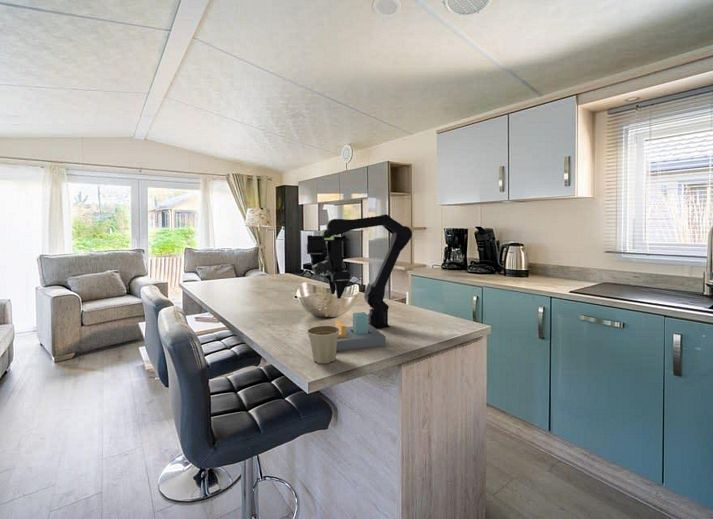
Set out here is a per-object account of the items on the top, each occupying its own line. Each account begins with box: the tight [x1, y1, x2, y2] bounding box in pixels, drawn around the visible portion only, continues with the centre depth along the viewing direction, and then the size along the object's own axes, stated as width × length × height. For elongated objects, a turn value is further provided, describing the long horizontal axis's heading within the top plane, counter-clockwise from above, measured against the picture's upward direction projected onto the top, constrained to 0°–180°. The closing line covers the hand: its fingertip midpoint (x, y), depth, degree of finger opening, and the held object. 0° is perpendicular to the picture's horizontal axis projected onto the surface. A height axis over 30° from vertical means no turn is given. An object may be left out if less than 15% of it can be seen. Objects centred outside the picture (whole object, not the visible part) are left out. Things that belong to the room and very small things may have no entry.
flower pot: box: [306, 325, 340, 364], centre depth 102 cm, size 9×9×9 cm
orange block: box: [334, 319, 347, 338], centre depth 116 cm, size 8×8×4 cm
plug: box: [352, 311, 369, 335], centre depth 119 cm, size 4×4×9 cm
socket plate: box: [336, 324, 386, 352], centre depth 118 cm, size 20×14×3 cm
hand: (335, 296), depth 133 cm, fingers open, 9 cm apart
